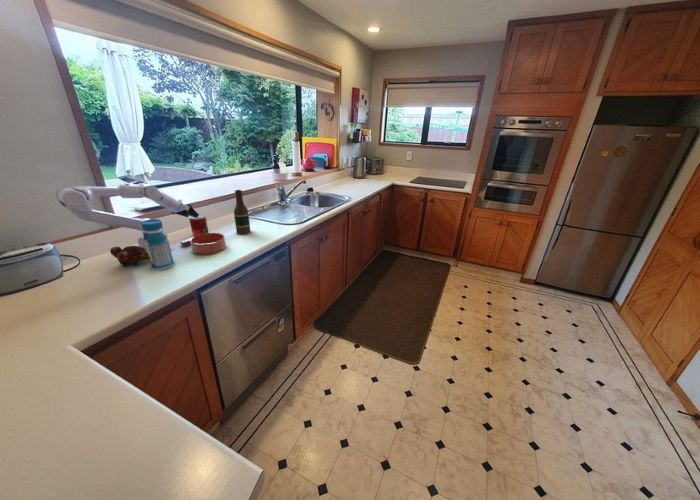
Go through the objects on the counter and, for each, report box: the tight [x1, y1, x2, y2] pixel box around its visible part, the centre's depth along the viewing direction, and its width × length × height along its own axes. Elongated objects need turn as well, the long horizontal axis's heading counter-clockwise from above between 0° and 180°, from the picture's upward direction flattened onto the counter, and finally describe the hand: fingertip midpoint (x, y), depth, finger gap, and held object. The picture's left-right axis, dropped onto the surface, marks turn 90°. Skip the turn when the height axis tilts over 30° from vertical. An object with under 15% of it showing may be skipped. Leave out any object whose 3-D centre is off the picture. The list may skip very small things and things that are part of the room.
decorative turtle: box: [109, 245, 150, 267], centre depth 120 cm, size 10×15×8 cm, turn 104°
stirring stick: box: [180, 237, 192, 248], centre depth 142 cm, size 9×2×2 cm, turn 155°
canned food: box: [188, 213, 210, 237], centre depth 150 cm, size 8×8×11 cm
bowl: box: [189, 232, 227, 255], centre depth 136 cm, size 15×15×6 cm
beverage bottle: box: [141, 218, 175, 271], centre depth 116 cm, size 8×8×20 cm
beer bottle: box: [233, 189, 251, 236], centre depth 154 cm, size 8×8×24 cm
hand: (192, 215), depth 142 cm, fingers open, 7 cm apart
